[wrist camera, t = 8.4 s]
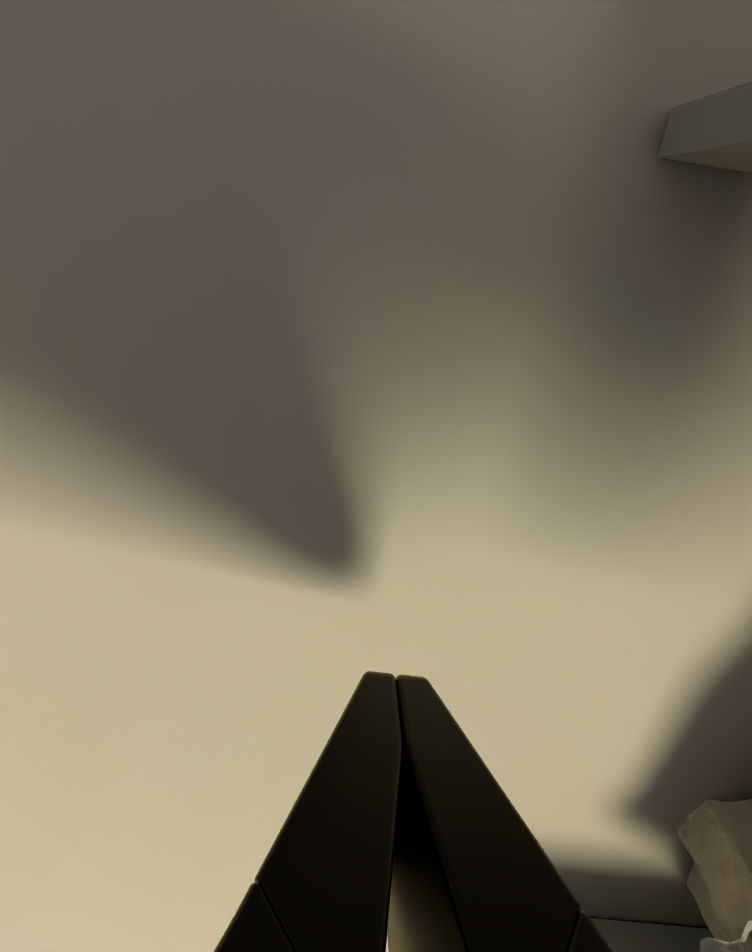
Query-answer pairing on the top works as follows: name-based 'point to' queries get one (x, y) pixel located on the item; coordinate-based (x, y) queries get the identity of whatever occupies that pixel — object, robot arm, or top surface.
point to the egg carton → (722, 871)
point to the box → (735, 148)
